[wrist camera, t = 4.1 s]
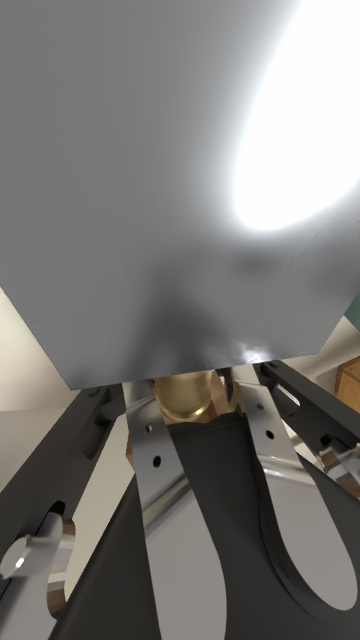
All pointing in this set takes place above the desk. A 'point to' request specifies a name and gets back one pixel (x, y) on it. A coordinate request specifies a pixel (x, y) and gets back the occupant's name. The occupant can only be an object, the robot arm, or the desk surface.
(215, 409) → the socket
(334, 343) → the desk surface
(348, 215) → the sleeve
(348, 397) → the tray
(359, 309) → the flower pot
